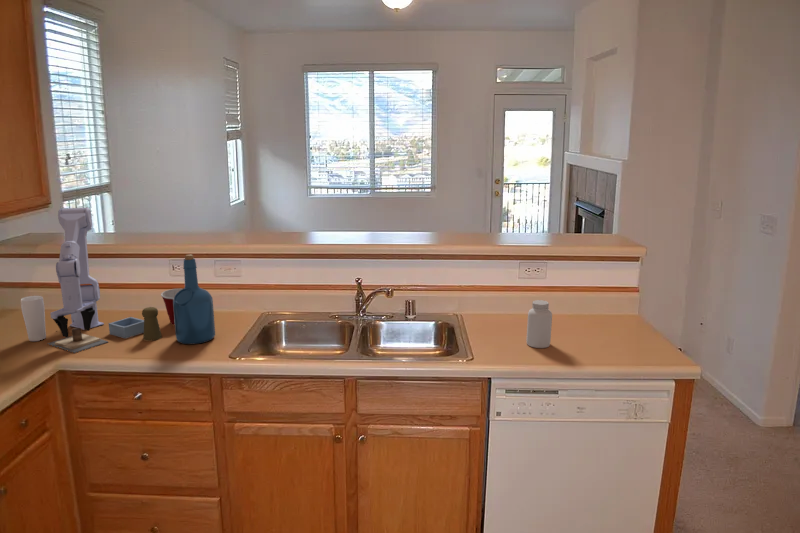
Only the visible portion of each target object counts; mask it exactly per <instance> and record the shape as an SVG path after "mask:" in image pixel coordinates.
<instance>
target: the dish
mask: <svg viewBox="0 0 800 533" xmlns="http://www.w3.org/2000/svg"><path fill="white" fill-rule="evenodd" d="M108 331H109V335H112V336H115V337H119V338H122V339H128V338H132V337H134V336H137V335H141V334H144V319H141V318H137V317H133V316H129V317H125V318H123V319H119V320H115V321H112V322H108Z"/></svg>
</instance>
